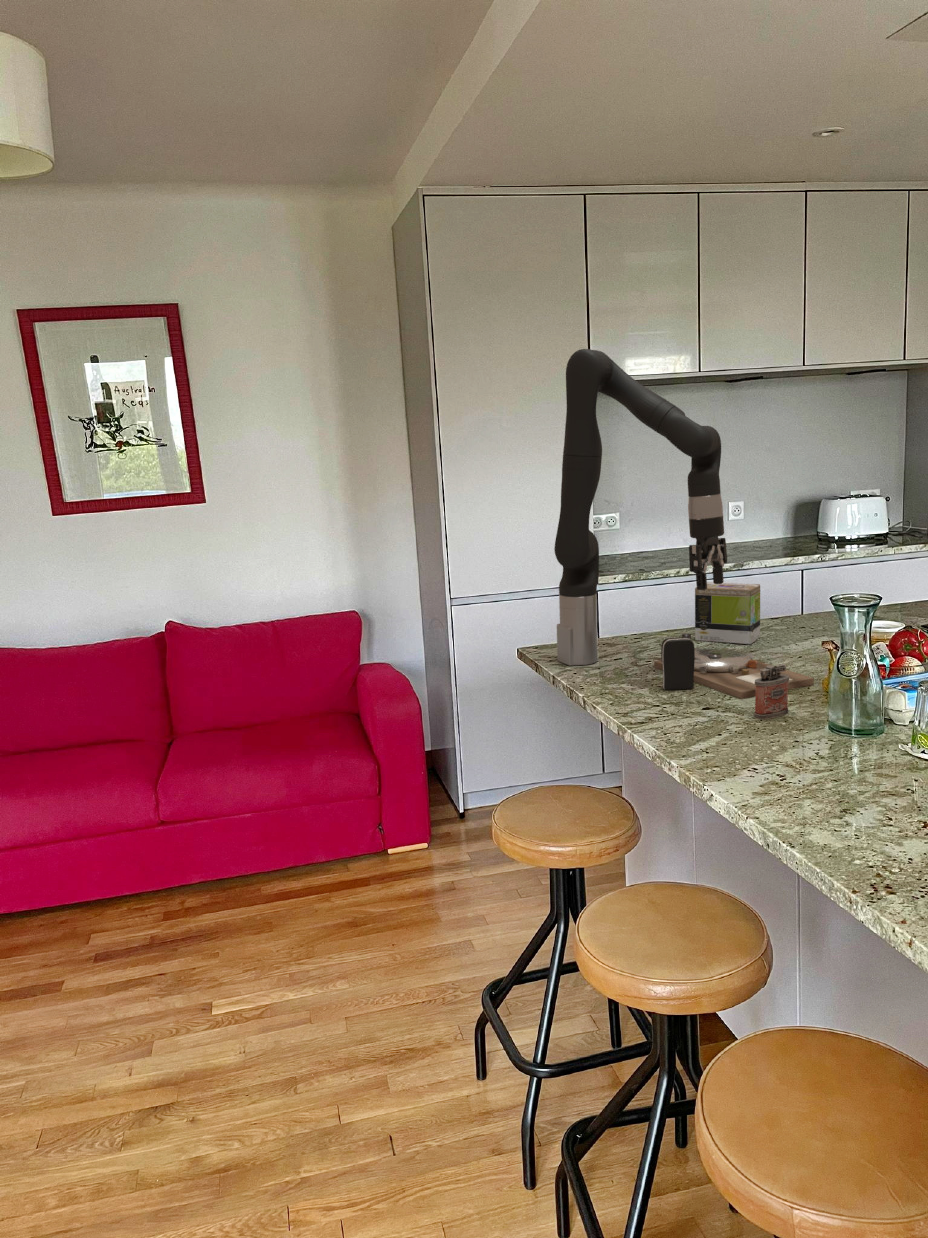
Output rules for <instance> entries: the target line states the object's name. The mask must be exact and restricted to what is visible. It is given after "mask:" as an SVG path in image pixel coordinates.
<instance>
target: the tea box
mask: <svg viewBox="0 0 928 1238" xmlns="http://www.w3.org/2000/svg"><path fill="white" fill-rule="evenodd" d="M694 618H695V619H694V636H695V637H694V640H695V641H701V642H702V641H703V642H716V643H731V644H741V645H742V644H745V645H751V644H753V643H754V642H756V639H757V640H758V639H760V635H761V583H760V584H759V583H738V582H737V583H734V582H723V583H722V584H714V583H713V582H707V589H706V590H698V589H697V586H696V587H695V588H694Z"/></svg>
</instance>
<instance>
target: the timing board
mask: <svg viewBox="0 0 928 1238" xmlns="http://www.w3.org/2000/svg"><path fill="white" fill-rule="evenodd" d="M653 664H654V666H653V667H654V669H655V668H656V669H658V670H660V671H663V665H662V660H661V659H658V660H655V661H653ZM768 665H769V666H773V667H774V666H775V665H772V664H768V663H765V662H761V661H759V660H757V667H756V668H751V667H748V668H746V669H743V670H739V673H734V674H733V673H731V672H707V673H706V674H703V673H700V671H696V670H694V683H696V684H699V685H702V686H704V687H707V688H709V689H713V690H716V691H718V692H721V693H724V694H727V695H729V696H732V697H734V698H738V699H741V700H744V699H745V700H746V699H749V698H754V697H755V695H756V685H755V680H756V679H759V678H761V675H760V670H761V669H765V668H766V666H768ZM780 673H781V675H788V676H789V681H788V691H789V690H793V689H798V688H804V687H808V686H809V687H810V686H814V684H815V683H814V682H815V681H814V680H815V678H814V677H811V676H808V675H806V674H805V675H804V674H801V673H798V672H795V671H791V670H789V669H786V671H783V672H780Z"/></svg>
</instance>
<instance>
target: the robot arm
mask: <svg viewBox="0 0 928 1238" xmlns="http://www.w3.org/2000/svg"><path fill="white" fill-rule="evenodd" d="M565 390H566V391H565V392H566V393H565V395H566V397H565V398H566V399H565V400H566V416H565V424H564V425H565V427H564V438H563V439H564V442H563V451H562V462H561V463H562V464H561V466H562V467H561V484H560V486H561V488H560V510H559V511H560V512H559V517H558V518H559V519H558V523H557V529H556V534H555V541H554V555H555V558H556V560H557V562H558V564H560V566H562V575H561V578H560V581H559V585H558V599H559V600H558V604H559V606H558V607H559V608H558V609H559V623H557V624H556V652H557V653H556V654H557V655H556V657H557V658H556V660H557V662H560V663H563V664H564V665H567V666H585V665H591V664H595V663H597V662H598V655H599V654H598V653H599V652H598V612H597V611H598V610H597V609H598V608H597V607H598V605H597V604H598V599H597V598H598V596H597V592H598V591H597V590H598V589H597V588H598V582H599V574H600V547H599V541H598V539H597V537H596V535H595V534H594V533H593V532H592V531H591V530H590V516H591V514H590V513H591V509H592V505H593V502H594V499H595V495H596V493H597V490H598V486H599V481H600V479H601V472H602V469H601V468H602V459H603V443H602V439H601V434H600V429H599V424H598V420H597V402H598V401H597V400H598V393H601V394H603V395H605V396H608V397H609V398H612V399H613V400H615V401H617V402H618V403H620V404H621V405H622V406H623V407H625V408H626V409H627V410H628V411H629V412H630V413H631V414H632V415H633V416H634V417H635V418H636V419H637V420H639V421H640V422H641V423H642V424H643V425H645V426H646V427H648V428H649V429H651V430H652V431H654V432H656V433H657V434H659V435H660V436H662V437H663V438H665V439H667V441H669V442H670V443H671V444H672V445H673V446H674V447H675V448H676V449H678V451H680V452H681V453H683V454H685V455H686V456H688V457H690V458H691V463H690V464H691V465H690V466H691V468H690V471H689V473H688V475H687V492H688V493H687V495H688V503H687V511H688V525H689V537H691V538H692V539H695V541H696V542H695V544H690V545H688V552H689V553H688V554H689V555H688V556H689V559H688V560H689V561H688V562H689V572H691V573H693V574H695V580H696V584H695V585H696V587H697V589H698V590H706V589H707V581H708V580H707V573H706V572H707V568H708V566H709V565H710V564H711V566H712V580H713V582H712V583H714V584H722V583H725V582H724V569H723V568H724V567H725V564H727V563H728V554H727V553H728V552H727V542H726V540H727V539H726V538H725V537H721V536H724V535H725V526H724V525H725V523H724V522H725V521H724V506H723V501H722V494H721V493H722V492H721V480H720V469H721V461H722V458H721V457H722V440H721V435H720V433H719V431H718V430H717V429H716V428H715V427H713V426H710V425H700V424H698V423H697V422H696V421H694V420H692V419H691V418H690V417H688V416H687V415H686V414H685V412H684V411H683V410H682V409H681V408H679V407H678V406H677V405H675V404H673V403H671V402H670V401H669V400H668V399H666V398H664V397H662V396H661V395H659V394H657V393H655V392H654V391H652V390H651V389H649V388H648V387H646V386H644V385H643V384H641V382H638V381H637V380H636V379H634V378H633V377H632V376H630V375H629V374H628V373H627V372H626V371H624V370H623V368H621V367H620V365H618V364H617V363H616V362H615V361H614V360H613V359H611V357H610V356H608V354H606V353H605V352H603V351H601V350H596V349H592V348H591V349H589V348H580V349H578V350H576V351H575V352H574V353H573V354H571V355H570V357H569V359H568V361H567V363H566V368H565Z"/></svg>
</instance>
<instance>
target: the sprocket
mask: <svg viewBox="0 0 928 1238" xmlns="http://www.w3.org/2000/svg"><path fill="white" fill-rule="evenodd" d="M681 637H686V638H689V639H691V640H692V633H689V632H687V633H686V632H683V633H681ZM753 658H754V655H753V653H752V652H742V651H741V652H740V651H737V650H730V649H729V647H722V648H705V649H704V648H698V647H695V663H694V670H696V671H700V673H703V674H706V673H707V672H731V673H733V674H734V673H739V670H743V669H746V668H748V667H751V668H756V667H757V661H758V660H757V659H753Z"/></svg>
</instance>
